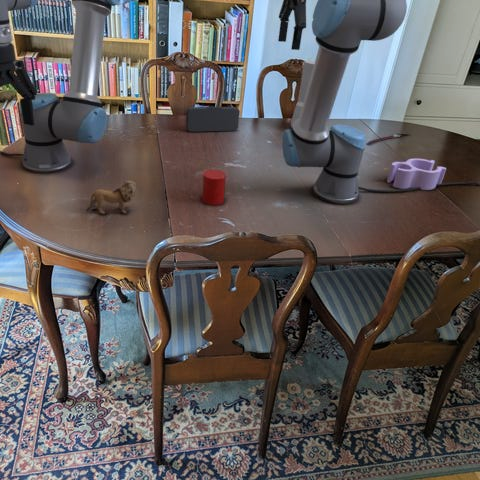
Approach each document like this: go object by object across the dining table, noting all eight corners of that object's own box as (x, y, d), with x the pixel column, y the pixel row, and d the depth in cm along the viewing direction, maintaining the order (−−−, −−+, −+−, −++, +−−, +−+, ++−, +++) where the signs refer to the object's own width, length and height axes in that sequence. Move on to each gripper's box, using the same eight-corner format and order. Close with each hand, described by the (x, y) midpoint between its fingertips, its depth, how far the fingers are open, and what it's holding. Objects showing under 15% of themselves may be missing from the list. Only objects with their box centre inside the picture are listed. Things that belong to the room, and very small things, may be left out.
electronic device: (303, 134, 208) (315, 64, 192) (289, 129, 211) (299, 60, 195) (315, 127, 218) (327, 60, 201) (300, 123, 221) (312, 56, 204)
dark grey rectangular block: (236, 128, 206) (238, 106, 201) (238, 130, 204) (240, 108, 199) (185, 129, 199) (186, 106, 194) (186, 132, 197) (187, 108, 192)
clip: (400, 192, 166) (405, 174, 163) (380, 176, 176) (385, 159, 172) (445, 188, 173) (451, 171, 169) (424, 174, 182) (429, 157, 179)
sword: (406, 132, 223) (406, 130, 222) (411, 134, 221) (412, 132, 220) (362, 144, 207) (363, 141, 206) (368, 146, 205) (368, 143, 204)
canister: (228, 200, 149) (230, 175, 145) (212, 207, 145) (214, 181, 140) (212, 192, 153) (214, 167, 148) (197, 199, 149) (198, 173, 144)
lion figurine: (135, 203, 142) (134, 176, 137) (138, 212, 138) (137, 185, 133) (85, 208, 137) (82, 180, 132) (86, 217, 133) (83, 189, 128)
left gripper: (-34, 54, 95) (-13, 152, 107) (44, 37, 115) (54, 120, 127) (-64, 49, 96) (-40, 146, 108) (18, 32, 117) (31, 115, 128)
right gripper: (275, -28, 162) (267, 37, 173) (301, -21, 142) (290, 52, 153) (295, -26, 164) (286, 38, 175) (323, -19, 144) (311, 53, 155)
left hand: (11, 132), depth 117 cm, fingers open, 13 cm apart
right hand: (288, 45), depth 164 cm, fingers open, 13 cm apart
